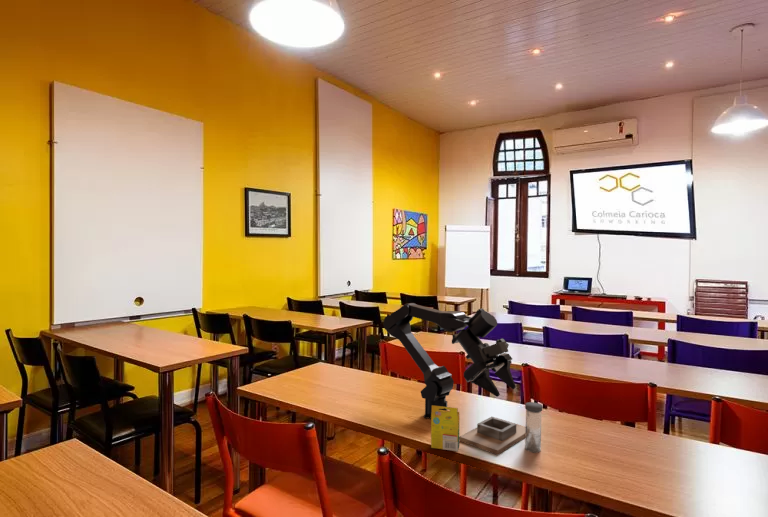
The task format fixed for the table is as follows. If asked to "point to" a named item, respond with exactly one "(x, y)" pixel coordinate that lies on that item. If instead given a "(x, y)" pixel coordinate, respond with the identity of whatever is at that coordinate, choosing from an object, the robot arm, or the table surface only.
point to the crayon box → (445, 428)
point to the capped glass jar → (533, 427)
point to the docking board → (494, 435)
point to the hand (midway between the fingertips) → (506, 391)
